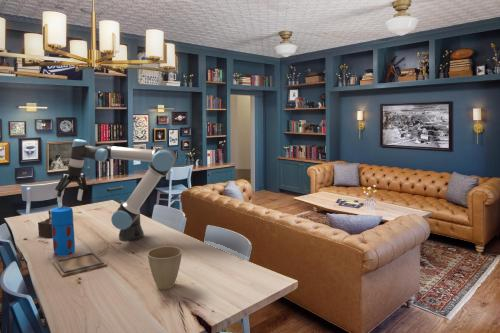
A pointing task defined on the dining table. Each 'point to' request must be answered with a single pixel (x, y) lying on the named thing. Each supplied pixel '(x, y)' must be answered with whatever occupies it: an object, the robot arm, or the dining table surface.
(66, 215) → the thermos
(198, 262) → the dining table surface
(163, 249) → the plant pot
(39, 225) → the manual coffee grinder
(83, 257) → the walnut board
